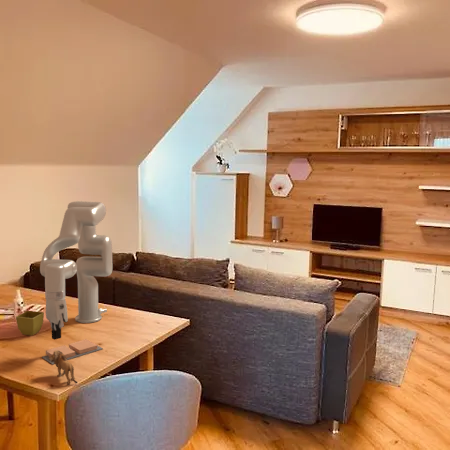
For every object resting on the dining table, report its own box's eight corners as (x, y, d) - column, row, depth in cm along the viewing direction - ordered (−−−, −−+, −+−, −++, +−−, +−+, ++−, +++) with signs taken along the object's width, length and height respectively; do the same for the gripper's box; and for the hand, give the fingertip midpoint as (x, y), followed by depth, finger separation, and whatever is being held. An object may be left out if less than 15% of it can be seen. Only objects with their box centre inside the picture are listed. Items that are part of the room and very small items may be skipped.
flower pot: (33, 337, 205) (32, 318, 204) (15, 336, 207) (15, 316, 206) (45, 331, 214) (44, 312, 212) (28, 329, 215) (27, 310, 214)
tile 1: (64, 345, 192) (75, 351, 186) (64, 349, 193) (75, 355, 187) (45, 350, 187) (56, 357, 181) (45, 354, 187) (56, 361, 181)
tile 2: (86, 339, 200) (97, 345, 193) (86, 343, 200) (97, 349, 194) (68, 344, 194) (79, 350, 188) (68, 348, 194) (79, 354, 188)
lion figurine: (47, 374, 171) (47, 351, 169) (60, 369, 175) (60, 347, 174) (71, 387, 162) (70, 362, 161) (84, 381, 166) (83, 357, 165)
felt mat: (91, 343, 201) (91, 342, 201) (102, 349, 195) (102, 348, 195) (41, 357, 185) (41, 356, 185) (52, 364, 179) (52, 363, 179)
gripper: (73, 296, 183) (74, 341, 186) (55, 289, 193) (56, 331, 196) (55, 300, 178) (56, 346, 180) (37, 292, 188) (39, 335, 190)
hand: (56, 338), depth 188 cm, fingers closed
